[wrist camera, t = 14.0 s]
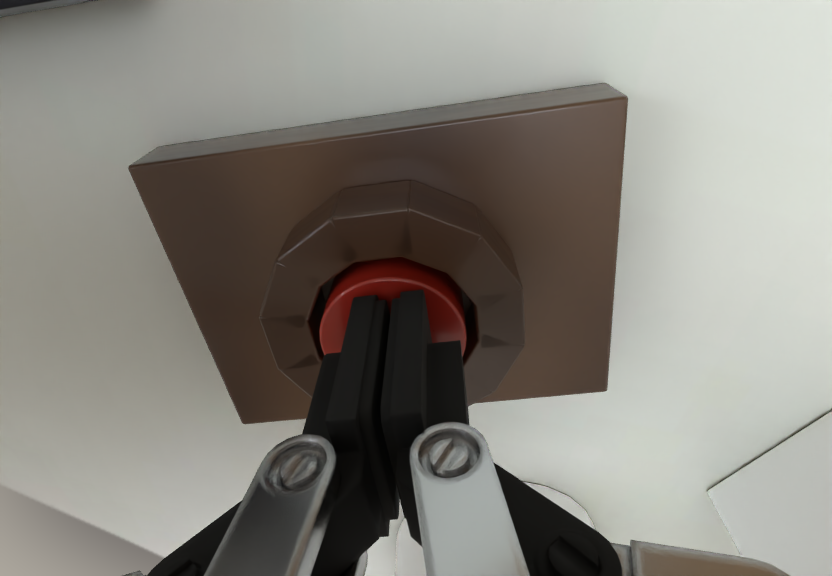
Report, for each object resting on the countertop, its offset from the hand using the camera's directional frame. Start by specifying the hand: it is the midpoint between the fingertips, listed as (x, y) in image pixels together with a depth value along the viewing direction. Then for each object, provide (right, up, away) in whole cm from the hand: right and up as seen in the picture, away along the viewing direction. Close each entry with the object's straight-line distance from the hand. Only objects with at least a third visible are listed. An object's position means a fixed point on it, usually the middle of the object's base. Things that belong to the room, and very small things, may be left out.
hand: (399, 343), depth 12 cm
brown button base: (0, +2, +3) cm, 4 cm away
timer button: (0, +1, +1) cm, 2 cm away
